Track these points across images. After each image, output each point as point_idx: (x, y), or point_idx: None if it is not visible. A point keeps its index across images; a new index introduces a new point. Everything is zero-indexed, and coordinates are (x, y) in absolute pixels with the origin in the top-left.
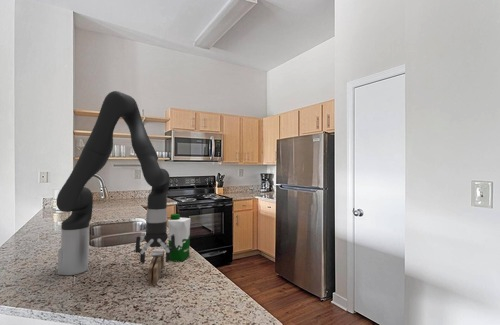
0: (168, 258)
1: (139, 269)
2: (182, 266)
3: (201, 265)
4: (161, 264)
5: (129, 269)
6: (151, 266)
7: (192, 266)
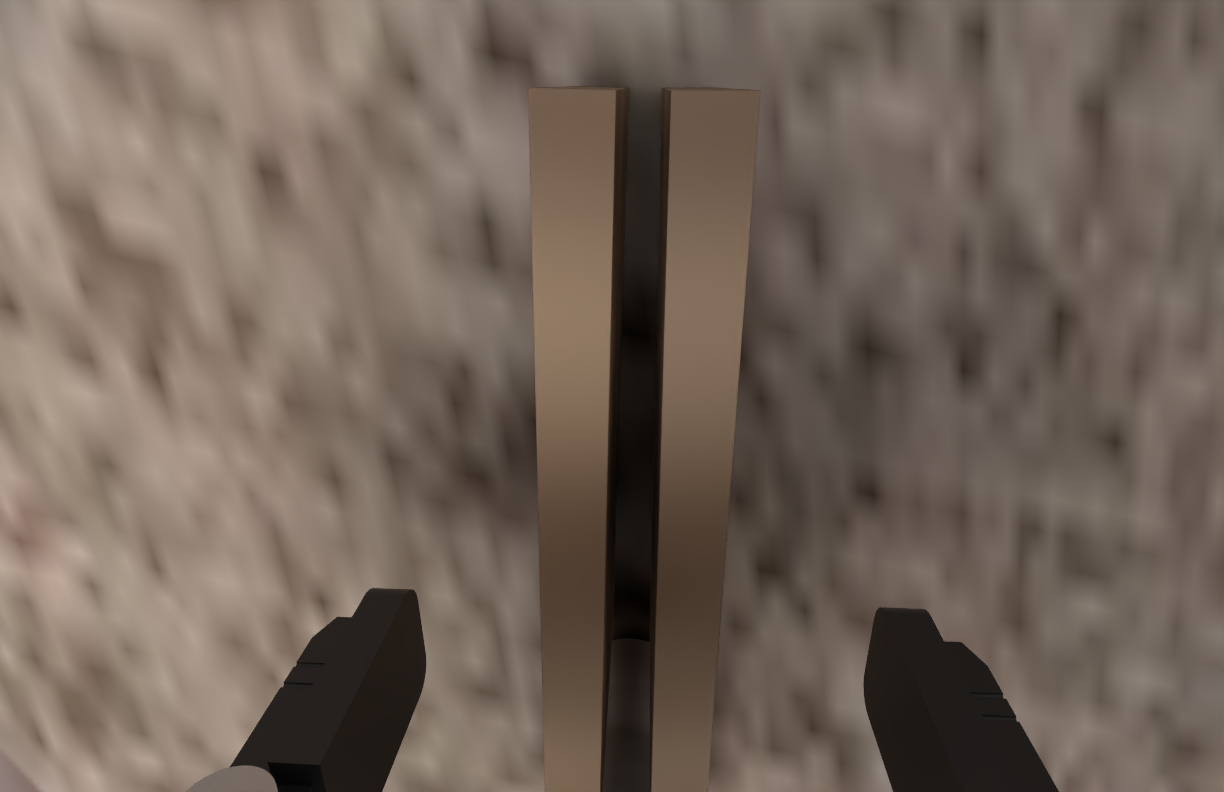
0: (328, 654)
1: None
2: None
3: (30, 677)
4: None
5: None
6: (688, 282)
7: (151, 673)
